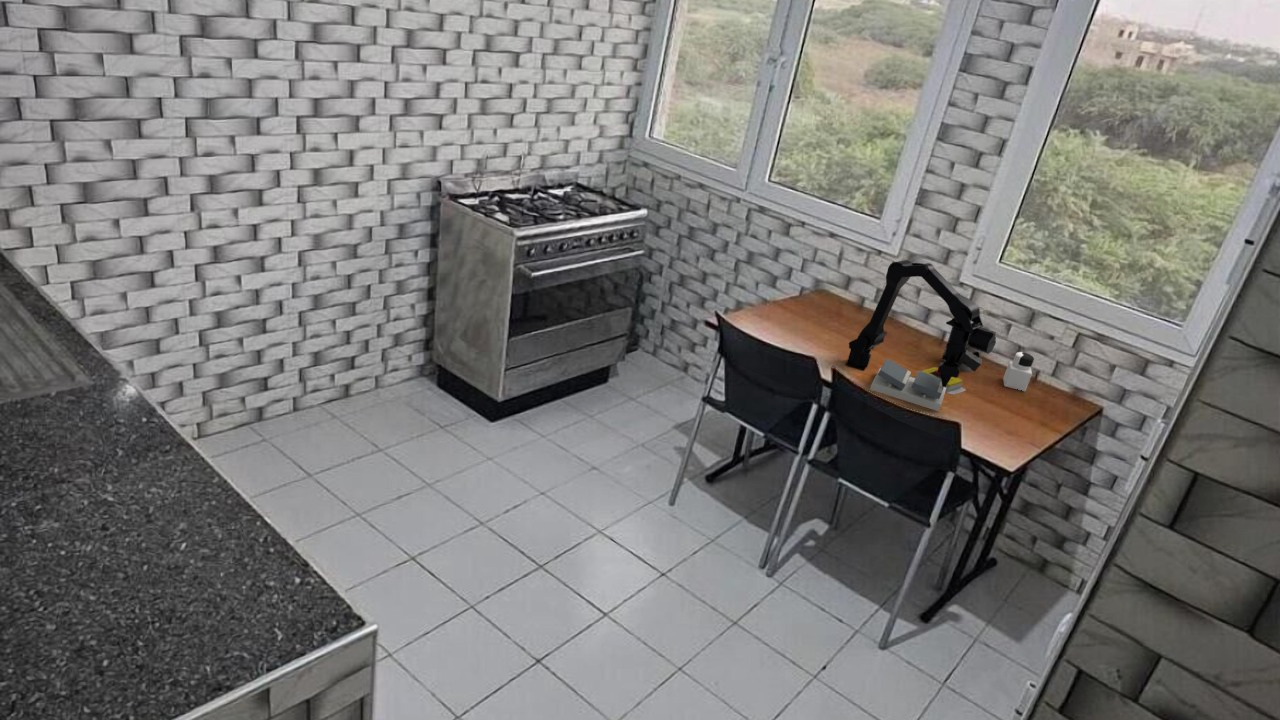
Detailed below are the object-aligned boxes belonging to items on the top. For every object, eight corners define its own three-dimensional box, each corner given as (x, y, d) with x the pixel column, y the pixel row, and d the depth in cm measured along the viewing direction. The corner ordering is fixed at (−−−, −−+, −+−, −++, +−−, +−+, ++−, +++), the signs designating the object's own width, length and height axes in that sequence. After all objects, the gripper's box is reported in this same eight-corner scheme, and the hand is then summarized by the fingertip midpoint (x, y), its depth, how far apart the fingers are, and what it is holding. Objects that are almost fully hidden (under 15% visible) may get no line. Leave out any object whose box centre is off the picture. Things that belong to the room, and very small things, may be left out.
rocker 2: (911, 388, 266) (913, 382, 266) (916, 375, 277) (919, 369, 276) (939, 399, 264) (941, 393, 263) (943, 385, 274) (946, 380, 273)
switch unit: (870, 389, 272) (873, 379, 270) (878, 374, 285) (881, 364, 283) (938, 411, 265) (942, 400, 263) (944, 394, 277) (947, 384, 276)
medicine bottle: (1023, 384, 296) (1035, 353, 292) (1025, 392, 290) (1037, 360, 285) (1002, 378, 298) (1014, 348, 293) (1003, 386, 292) (1015, 355, 287)
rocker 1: (877, 374, 270) (881, 369, 269) (884, 362, 280) (887, 357, 279) (902, 390, 268) (906, 384, 267) (908, 377, 278) (911, 372, 277)
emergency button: (933, 361, 292) (970, 380, 282) (929, 372, 294) (966, 391, 284) (917, 365, 287) (955, 384, 276) (914, 377, 288) (951, 396, 278)
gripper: (982, 358, 251) (967, 404, 257) (986, 339, 267) (972, 383, 273) (944, 348, 255) (930, 393, 261) (950, 330, 271) (937, 373, 277)
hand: (943, 386), depth 268 cm, fingers closed, pressing on rocker 2
